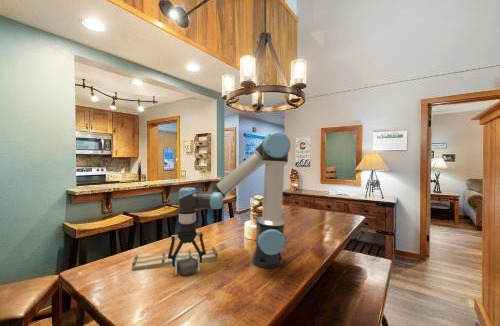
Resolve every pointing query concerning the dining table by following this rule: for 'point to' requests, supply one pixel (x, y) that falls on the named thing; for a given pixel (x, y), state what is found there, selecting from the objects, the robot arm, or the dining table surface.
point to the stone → (186, 266)
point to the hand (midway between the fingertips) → (187, 271)
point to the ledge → (163, 260)
